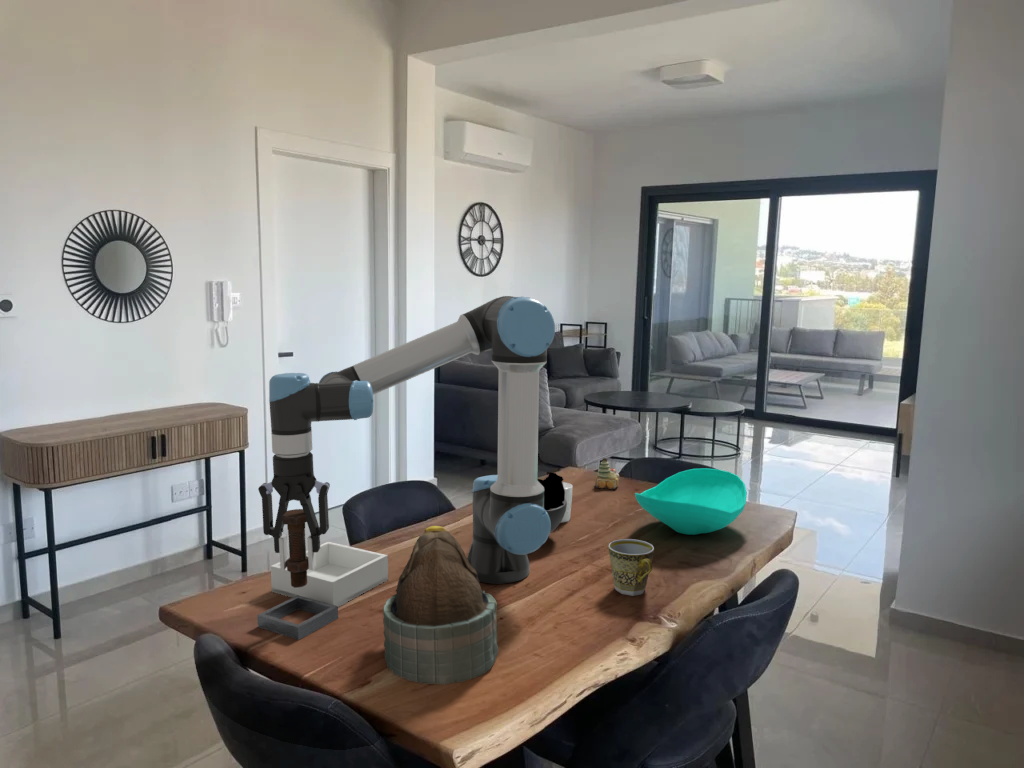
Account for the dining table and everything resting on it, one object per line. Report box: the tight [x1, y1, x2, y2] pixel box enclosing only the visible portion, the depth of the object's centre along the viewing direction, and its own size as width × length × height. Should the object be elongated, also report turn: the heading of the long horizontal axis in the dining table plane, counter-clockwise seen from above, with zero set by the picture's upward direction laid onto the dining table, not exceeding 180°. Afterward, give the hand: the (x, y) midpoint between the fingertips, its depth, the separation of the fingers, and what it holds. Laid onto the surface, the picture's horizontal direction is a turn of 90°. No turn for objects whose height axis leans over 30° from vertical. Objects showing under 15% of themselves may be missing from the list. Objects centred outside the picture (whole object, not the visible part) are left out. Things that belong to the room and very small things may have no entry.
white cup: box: [560, 481, 573, 524], centre depth 219 cm, size 8×8×10 cm
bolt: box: [282, 508, 309, 588], centre depth 151 cm, size 6×5×15 cm
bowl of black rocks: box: [537, 472, 567, 534], centre depth 203 cm, size 20×20×19 cm
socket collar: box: [256, 595, 339, 641], centre depth 153 cm, size 11×11×2 cm
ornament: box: [594, 457, 620, 490], centre depth 253 cm, size 8×6×10 cm
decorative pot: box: [382, 525, 499, 685], centre depth 141 cm, size 23×25×22 cm
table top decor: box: [634, 467, 748, 536], centre depth 209 cm, size 40×28×13 cm
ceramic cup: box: [608, 538, 655, 597], centre depth 168 cm, size 13×10×10 cm
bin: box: [270, 541, 389, 608], centre depth 171 cm, size 18×18×6 cm
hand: (298, 567), depth 152 cm, fingers closed on bolt, 5 cm apart
